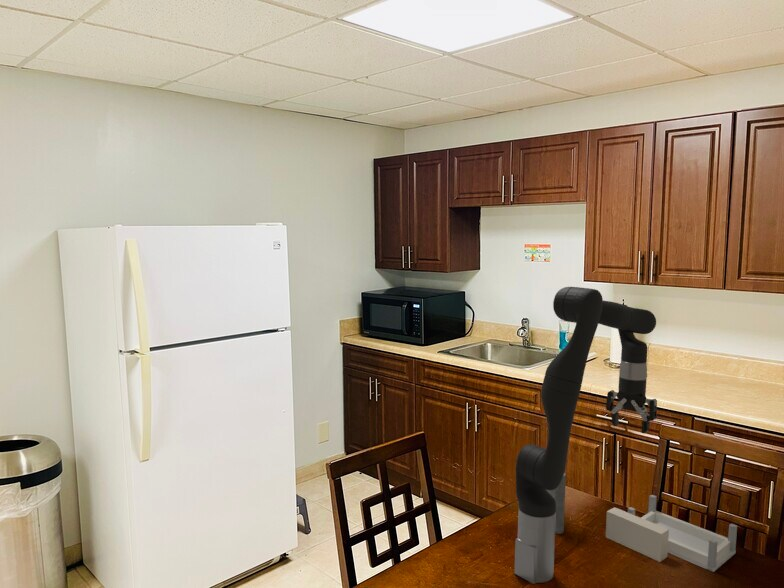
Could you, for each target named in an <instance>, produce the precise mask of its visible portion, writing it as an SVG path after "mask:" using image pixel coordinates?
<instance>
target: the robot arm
mask: <svg viewBox="0 0 784 588" xmlns="http://www.w3.org/2000/svg"><path fill="white" fill-rule="evenodd" d="M552 307H553V308H552V309H553V312H554V314H555V316H556V317H557V318H558V319H559V320H561V321H565V322H567V323H574V324H575V326H574V330H573V333H572V334H571V337H570V339H569V341H568V342H567V344H566V345H565V346H564V348H563V349H562V350H561V351H559V352H558V354H557V355H556V356H555V357H554V358H553V359H552V361H551V362H550V363H549V364H548V366H547V367H546V369H545V373H544V377H543V381H542V385H541V390H540V397H541V398H540V399H541V404H542V407H543V411H544V414H545V418H546V422H547V426H548V427H547V428H548V435H547V436H548V437H547V444H546V448H545V447H541V446H539V445H536V444H532V443H529V444H526V445H524V446H523V447H522V448H521V449H520V450H519V452H518V454H517V458H516V461H515V495H516V499H517V502H518V512H517V513H518V515H517V516H518V517H517V537H516V538H515V541H514V543H515V544H514V545H515V546H514V574H515V575H517V576H518V577H519V578H522V579H523V580H526V581H527V582H529V583H531V584H532V585H535V584H538V583H539V584H540V583H542V584H543V583H547V582H550V580H552V579H553V578H554V568H555V567H554V566H555V544H556V541H555V540H556V533H555V521H556V501H555V499H554V498H553V496H552V495H551V494H550V493H549V492H548V491H547V490H554V489H556V488H557V487H558V486H559V484H560V483H561V481H562V478H563V475H564V473H565V471H566V467H567V459H568V454H569V453H568V452H569V446H570V445H569V444H570V436H571V433H572V427H573V421H574V418H575V414H576V408H577V405H578V401H579V398H580V393H581V389H582V384H583V380H584V375H585V371H586V370H585V369H586V365H587V361H588V358H589V353H590V351H591V347H592V344H593V340H594V337H595V334H596V332H597V329H598V325H601V326H606V327H609V328H613V329H616V330H617V331H618V336H619V340H620V345H621V354H620V355H621V356H620V364H619V371H618V373H619V374H618V392H617V391H615V390H614V389H612V390H610V391H609V390H608V392H607V396H606V403H605V410H606V411H609V412H610V413H611V424H612V426H613V427H617V426H619V421H620V419H619V417H620V413H619V412H620V411H621V410H622V409H624V410H631V411H633V412H637V414H638V415H639V416H640V417H641V419H642V421H641V433H642V434H646V433H647V432H649V430H650V421H651V422H652V421H654V420H656V419H657V418H658V401H657V399H656V398H653V399H651V398H647V397H646V392H647V378H648V364H647V363H648V361H647V360H648V345H647V343H646V342H645V341H642V340H640V339H638V338H636V336H635V334H638V335H639V334H640V335H648V334H651V333H652V332H653V331H654V329H655V328H656V326H657V318H656V316H655V314H654V313H653V312H652V311H651V310H648V309H643V308H636V307H631V306H628V305H626V304H622V303H619V302H614V301H610V300H609V301H608V300H604V297H603V295H602V293H601V292H600V291H599V290H598V289H595V288H588V287H579V286H577V287H576V286H565V287H562V288H560V289H559V290H557V292H556V293H555V295H554V298H553V302H552ZM616 398H617V400H618V401H619V402H618V403H617V405H615V407H614V403H615V399H616ZM645 404H647V406H648V407H649V408H648V409H649V411H648V410H647V408H646V406H645ZM648 412H649V413H648ZM546 489H547V490H546Z"/></svg>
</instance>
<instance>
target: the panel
mask: <svg viewBox="0 0 784 588" xmlns="http://www.w3.org/2000/svg"><path fill="white" fill-rule="evenodd" d="M605 522H606V523H605V525H606V526H605V538H607V539H608V540H611V541H613V542H615V543H617V544H619V545H622V546H623V547H626V548H628V549H631V550H633V551H635V552H636V553H639V554H642V555H644V556H645V557H648V558H650V559H652V560H654V561H656V562H659V563H661V562H662V561H664V560H665V559H666V558H667V557H668V554H669V553H668V538H669V529H667V528H665V527H662V526H660V525H657V524H655V523H652V522H650V521H647V520H645V519H642V518H641V517H640V516H638V515H636V514H635V515H633V514H630V513H628V511H625V510H623V509H620V508H618V507H613V508H610V509H608V510H607V511H606V521H605Z"/></svg>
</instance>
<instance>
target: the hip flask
mask: <svg viewBox="0 0 784 588" xmlns="http://www.w3.org/2000/svg"><path fill="white" fill-rule="evenodd" d="M566 479H567V477H566V472H564V475H563V478H562V481H561V483H560V484H559V486H558V487H557V488H556V489H554V490H547V489H546V490H547V491H548V492H549V493H550V494H551V495H552V496H553V498H554V499H555V501H556V521H555V534H557V535H559V534H564V532H565V531H564V530H565V529H564V528H565V527H564V526H565V510H566V509H565V505H566V504H565V503H566V502H565V501H566V485H567V484H566Z"/></svg>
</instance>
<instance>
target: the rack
mask: <svg viewBox="0 0 784 588" xmlns="http://www.w3.org/2000/svg"><path fill="white" fill-rule="evenodd" d="M657 497H658V496H657V495H654V494H651V495H649V496H648V512H647V513H646V514H644V515H642V517H640V518H642V519H645V520H647V521H650V522H652V523H655V524H657V525H660V526H662V527H665V528H667V529H669V538H668V554H670V555H673V556H675V557H677V558H680V559H681V560H684V561H686V562H689V563H691V564H694V565H696V566H698V567H701V568H703V569H705V570H708V571H710V572H711V573H714V572H716V570H718V569H719V568H721V567H722V565H724V564H725V563H726V562H727V561H728V560H729V559H731V558H732V557H733V556H734V555H735V554H736V551H737V550H736V549H737V548H736V546H737V533H738V532H737V531H738V525H736V524H734V523H730V524H729V525H728V536H724V535H722V534H718V533H716V532H714V531H711V530H708V529H705V528H703V527H700V526H697V525H695V524H692V523H690V522H687V521H685V520H681V519H679V518H676V517H673V516H671V515H669V514H666V513H663V512H660V511H658V510H657ZM627 512H628V513H630V514H633V515H635V516H636V508H634V507H631V506H630V507H628V508H627Z"/></svg>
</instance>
